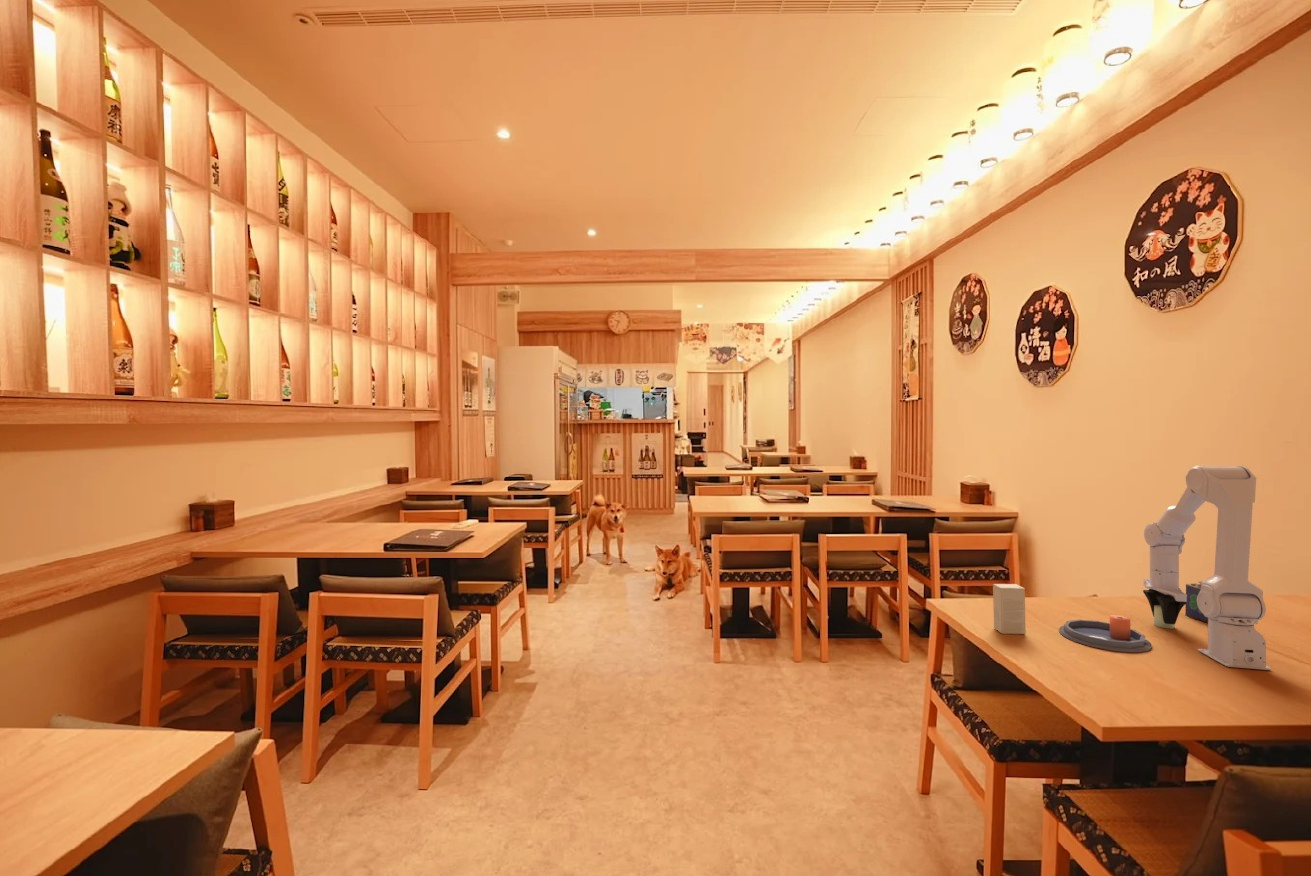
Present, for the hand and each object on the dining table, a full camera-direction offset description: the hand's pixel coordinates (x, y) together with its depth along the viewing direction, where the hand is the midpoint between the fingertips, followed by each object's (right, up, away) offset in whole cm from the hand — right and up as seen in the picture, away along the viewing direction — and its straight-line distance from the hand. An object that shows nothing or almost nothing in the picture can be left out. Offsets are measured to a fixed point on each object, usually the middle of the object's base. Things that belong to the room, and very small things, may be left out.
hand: (1164, 620), depth 147 cm
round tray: (-23, -2, -8) cm, 24 cm away
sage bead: (0, -1, 0) cm, 1 cm away
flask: (+15, -2, +4) cm, 15 cm away
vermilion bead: (-20, -1, -9) cm, 22 cm away
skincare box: (-43, -2, -3) cm, 43 cm away
